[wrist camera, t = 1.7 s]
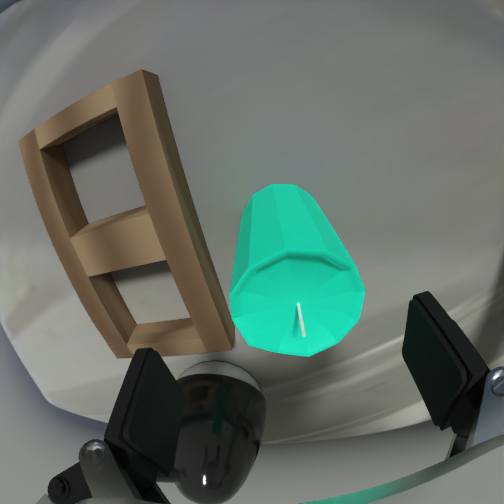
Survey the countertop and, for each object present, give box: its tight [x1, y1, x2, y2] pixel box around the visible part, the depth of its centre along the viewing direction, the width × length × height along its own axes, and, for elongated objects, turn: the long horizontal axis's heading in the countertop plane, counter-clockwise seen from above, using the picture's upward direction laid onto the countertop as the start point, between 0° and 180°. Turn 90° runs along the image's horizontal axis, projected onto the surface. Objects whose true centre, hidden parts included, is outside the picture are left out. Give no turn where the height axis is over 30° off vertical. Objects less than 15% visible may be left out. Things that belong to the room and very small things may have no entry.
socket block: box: [18, 69, 235, 358], centre depth 20 cm, size 12×22×3 cm, turn 13°
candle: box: [229, 184, 365, 357], centre depth 16 cm, size 6×6×12 cm
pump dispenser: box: [156, 361, 266, 504], centre depth 22 cm, size 10×10×15 cm
